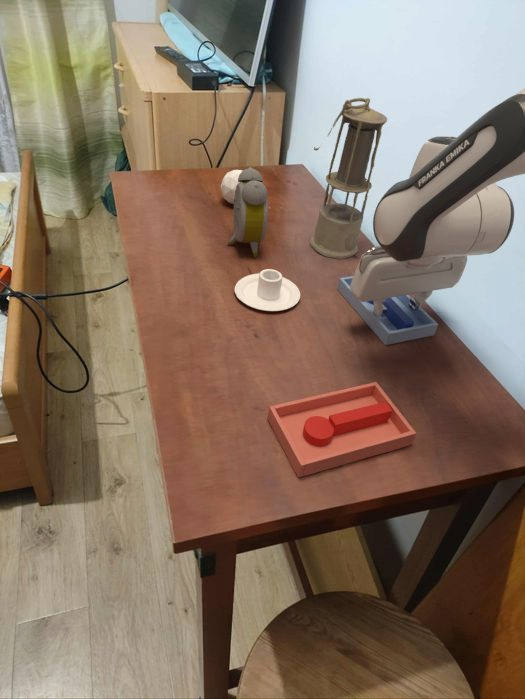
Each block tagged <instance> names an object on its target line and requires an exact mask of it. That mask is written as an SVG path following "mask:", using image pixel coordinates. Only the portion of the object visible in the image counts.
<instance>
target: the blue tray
mask: <svg viewBox="0 0 525 699" xmlns="http://www.w3.org/2000/svg"><path fill="white" fill-rule="evenodd" d="M353 276H354V275H352V276H351V275H350V276H345V277H339V279H338V283H337V287H336V289H337V291H338V292H339V293H340V294H341V296H342V297H343V298H344V299H345V300H346V301H347V303H348V304H349V305H350V306H351V308H353V310H354V311H355V312H356V313H357V314H358V315H359V317H360V318H361V319H362V320H363V321H364V322H365V324H366V325H367V326H368V327H369V329H371V330H372V331H373V333H374V334H375V335H376V336H377V338H378V339H379V340H380V341H381V342H382V344H384V346H388V345H393V344H398V343H403V342H407V341H408V342H409V341H412V340H413V341H414V340H417V339H423V338H428V337H432V336H435V334H436V332H437V328H438V327H439V323H438V322H437V321H436V320H435V319H434V318H433V317H432V316H430V315H429V314H428V313H427V312H426V310H424V308H423V307H421V309H420V310H416V311H412V310H411V309H410V308H409V307H408V304H409V301H410V298H412V297H411V296H410V295H404V296H397V297H391V298H392V299H393V300H394V302H395V303H396V304H397V305H398V306H399V307H400V308H401V309H402V310H403V311H404V312H405V313H406V314H407V315H408V316H409V317H410V318H411V319H412V320H413V321H414V325H413V327H410V328H405V329H399V330H398V329H397V328H396V327H395V326H394V325H393V324H392V323H391V322H390V321H389V320H388V318H387V317H386V316H383V317H377V316H376V315H375V314H374V313H373V309H374V306H375V305H374V304H371V303H368V302H361V301H360V300H359V299H358V298H357V297H356V296H355V295H354V294H353V293H352V291H351V289H350V285H351V282H352V279H353Z"/></svg>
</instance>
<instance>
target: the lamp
mask: <svg viewBox="0 0 525 699" xmlns="http://www.w3.org/2000/svg"><path fill="white" fill-rule="evenodd" d="M357 102H363V103H362V104H358V105H354V104H353V105H352V103H357ZM370 103H371V98H369V97H367V98H364V97H355V98H351V99H346V100H344V103H343V105H342V109H341V110H340V112H339V114H338V115H337V117H335V120H334V122H333V123H332V127H331V129H330V130H329V132H328V133H327V137H329V135H330V134H331V132H332V130H333V128H334V127H335V126H336V124H337V122H338V121H339V119H340V118H341V122H340V127H339V130H338V133H337V138H336V142H335V145H334V146H335V147H334V151H333V153H332V158H331V161H330V165H329V170H328V174H327V175H325V181H326V183H327V185H326V188H325V193H324V199H323V204H322V206H321V207H320V208H319V211H318V217H317V220H316V221H317V222H316V225H315V230H314V234H313V235H312V237H311V239H310V241H309V244H310V246H311V247H312V248H313V250H315V251H316V252H317V253H318V254H321V255H322V256H324V257H326V258H327V257H328V258H331V259H336V260H337V259H338V260H344V259H348V258H352V257H353V256H356V254H357V252H358V250H359V248H358V241H359V238H360V233H361V230H362V229H361V228H362V224H363V220H364V213H365V209H366V206H367V201H368V194H369V193H370V190H371V189H372V187H373V185H372V182H371V177H372V173H373V169H374V167H375V161H376V155H377V151H378V148H379V144H380V139H381V137H382V129H383V126H384V125H385V124H386V123H387V122H388V117H387V116H386V115H385V114H383V113H381V112H379V111H377V110H375V109H374V108H371V107H370ZM341 116H342V117H341ZM345 124H347V133H346V135H345V139H344V144H343V148H342V152H341V155H340V161H339V165H338V169H337V171H333V172H332V169H333V167H334V162H335V158H336V154H337V151H338V148H339V144H340V140H341V136H342V132H343V129H344V125H345ZM374 140H375V145H374V148H373V144H374ZM320 148H321V146H319V147H316V146H314V147H313V151H319V149H320ZM372 149H373V151H372ZM371 152H372V153H371ZM371 154H372V155H371ZM370 157H371V158H370ZM369 162H370V167H369V173H368V175H367V176H368V177H367V178H366V173H367V170H368V166H369ZM330 187H331V188H330ZM335 190H339V191H340V192H343V193H344V192H345V193H346V197H345V201H344V203H339V202H332V198H333V193H334V191H335ZM350 193H351V194H354V197H353V203H352V206H351V205H350V204H348V200H349V196H350ZM363 193H365V195H364V200H363V204H362V206H361V211H360V209H357V208H356V204H357V200H358V196H359V194H363Z"/></svg>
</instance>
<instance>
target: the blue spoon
mask: <svg viewBox="0 0 525 699" xmlns="http://www.w3.org/2000/svg"><path fill="white" fill-rule="evenodd" d="M367 302H368V303H371V304H374V302H373V301H367ZM382 304H383V305H384V306H385V307H386V308H387V312H386V313H385V314H386V315H385V316H386V317H387V318H388V320H389V321H390V322H391V323H392V324H393V325H394V326H395V327H396V328H397V329H398V330H399V329H405V328H410V327H413V325H414V321H413V320H412V319H411V318H410V317H409V316H408V315H407V314H406V313H405V312H404V311H403V310H402V309H401V308H400V307H399V306H398V305H397V304H396V303H395V302H394V300H393V299H392V298H386V300H385V302H382Z"/></svg>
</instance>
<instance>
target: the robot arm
mask: <svg viewBox="0 0 525 699" xmlns="http://www.w3.org/2000/svg"><path fill="white" fill-rule="evenodd" d="M521 175H525V88H523V89H522V90H520V91H519V92H517V93H515V94H514V95H511V96H510V97H508V98H507V99H505V100H503V101H502V102H500V103H498V104H497V105H495V106H494V107H492V108H491V109H490V110H488V111H487V112H485V113H484V114H483V115H481V116H480V117H479V118H478V119H477V120H475V121H474V122H473V123H472V124H470V125H469V126H468V127H467V128H466V129H465V130H463V131H462V132H461V133H460V134H459V135H458V136H434V137H430V138H429V139H427V140H425V142H424V143H423V145H422V146H421V148H420V150H419V152H418V153H417V156H416V158H415V160H414V163H413V166H412V168H411V172H410V174H409V177H408V178H407V179H404V180H399V181H398V182H396V183H394V184H393V185H392V186H391V187H390V188H389V189H387V190H386V191H385V193H384V195H383V196H382V197H381V198H380V200H379V202H378V203H377V205H376V207H375V210H374V213H373V219H372V220H373V221H372V230H373V236H374V238H375V240H376V242H377V243H378V245H376V246H372V247H370V248H369V249H368V250H367V251H365V252H364V253H362V254H361V256H360V259H359V262H358V264H357V266H356V268H355V270H354V273H353V275H352V276H353V279H352V282H351V285H350V289H351V291H352V293H353V294H354V295H355V296H356V297H357V298H358V299H359V300H360V301H361V302H367V301H373V302H374V305H375V306H374V309H373V313H374V314H375V315H376V316H377V317H383V316H385V315H386V314H385V313H386V312H387V308H386V307H385V306H384V305H383V304H382V302H385V300H386V298H391V297H397V296H404V295H409V296H410V295H414V297H411V298H410V301H409V304H408V307H409V308H410V309H411V310H412V311H416V310H420V309H421V308H422V306H423V303H425V302H426V301H427V300H428V299H429V298H430V297H431V296H432V294H433V292H434V291H439V290H445V289H451V288H453V287H455V286H456V285H457V284H458V283H459V282H460V280H461V278H462V277H463V274H464V271H465V268H466V266H467V262H468V256H481V255H486V254H487V255H488V254H492V253H494V252H496V251H498V250H499V249H500V248H501V247H502V246H503V245H504V244H505V242H506V241H507V240H508V238H509V236H510V234H511V232H512V229H513V226H514V221H515V206H514V203H513V199H512V198H511V196H510V194H509V193H508V192H507V190H506V189H504V188H503V187H502V186H499V185H498V184H497V183H498V182H500V181H502V180H506V179H509V178H513V177H517V176H521Z"/></svg>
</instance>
